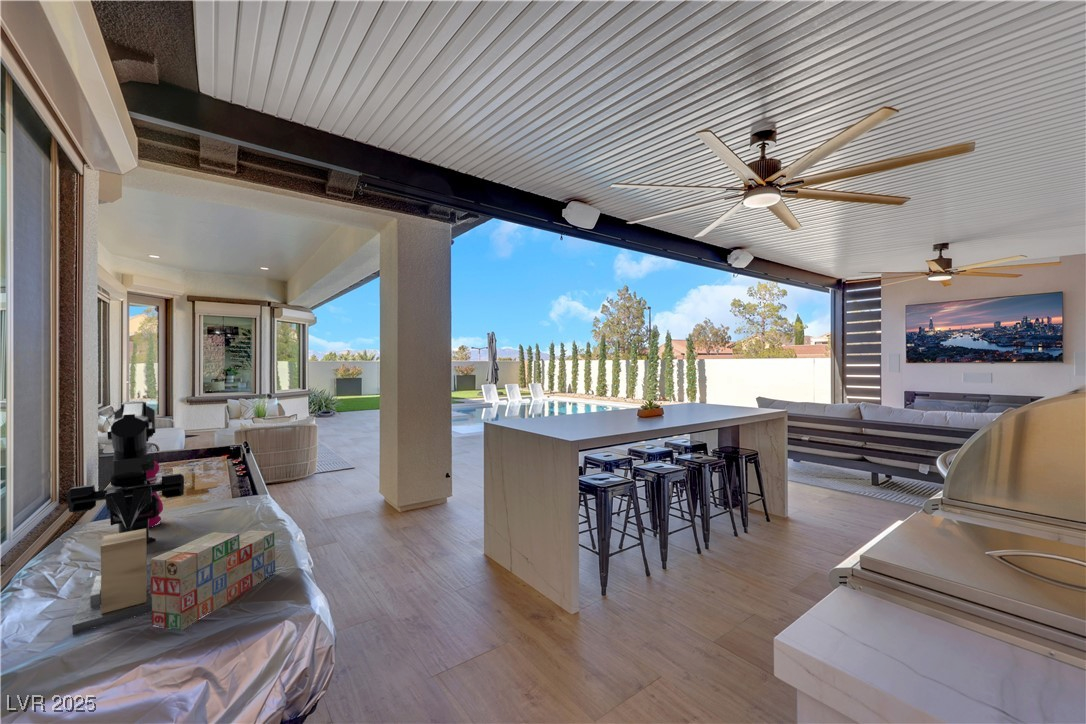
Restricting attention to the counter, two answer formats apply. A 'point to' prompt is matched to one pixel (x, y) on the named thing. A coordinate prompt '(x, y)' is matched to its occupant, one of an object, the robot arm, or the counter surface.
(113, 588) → the oak block
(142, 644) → the counter surface
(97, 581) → the chute
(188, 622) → the stack of blocks
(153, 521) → the pepper mill
